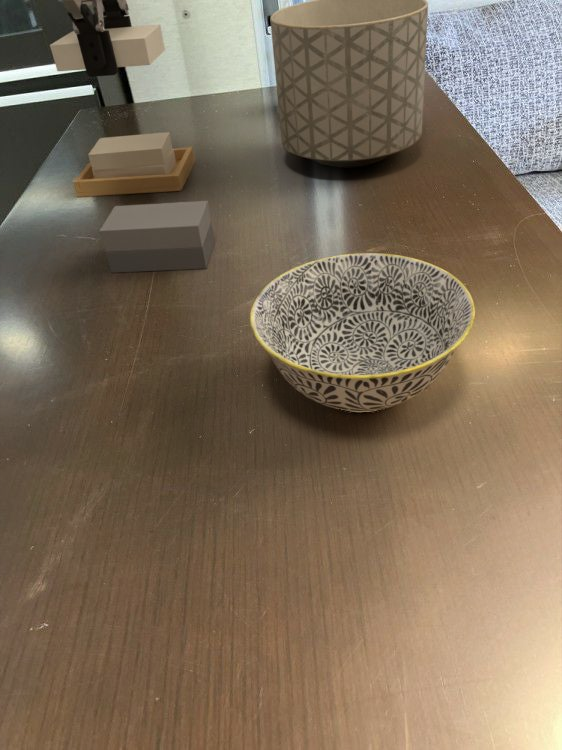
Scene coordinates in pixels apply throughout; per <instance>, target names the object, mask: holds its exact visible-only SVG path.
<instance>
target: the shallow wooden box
mask: <svg viewBox="0 0 562 750" xmlns="http://www.w3.org/2000/svg"><path fill="white" fill-rule="evenodd" d="M172 148H173V149H174V154H175V159H176V165H175V167H174V169H173V171H172V172H171V174H162V175H146V176H130V177H115V178H99V179H94V175H93V172H92V166H91V163H90V161H88V163H87V164H86V165H85V166H84V168H83V169H82V170H81V171H80V173H79V174H78V175H77V176H76V177H75V179H73V181H72V185H73V189H74V191H75V194H76V197H77V198H81V197H99V196H115V195H129V194H131V195H133V194H146V193H147V194H148V193H164V192H165V193H167V192H180V191H182V190H183V188H184V186H185V184H186V181H187V179H188V177H189V175H190V173H191V171H192V168H193V167H194V165H195V162H196V158H195V152H194V148H193V147H192V146H189V147H172Z"/></svg>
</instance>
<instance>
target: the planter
mask: <svg viewBox="0 0 562 750" xmlns="http://www.w3.org/2000/svg"><path fill="white" fill-rule="evenodd" d="M428 13H429V2H428V1H427V0H307V1H303V2H299V3H295V4H292V5H289V6H286V7H282V8H281V9H278V10H276V11H274V12H273V13H272V14H271V15H270V18H269V19H270V30H271V31H270V32H271V41H272V52H273V53H272V54H273V62H274V63H273V65H274V75H275V87H276V95H277V96H276V97H277V107H278V118H279V119H278V120H279V129H280V138H281V139H280V140H281V141H280V142H281V144H282V146H283V148H284V149H285V150H286V151H288V152H289V153H291V154H292V155H295V156H298V157H301V158H305V159H308V160H311V161H314V162H316V163H318V164H321V165H324V166H329V167H333V168H340V169H341V168H342V169H349V168H350V169H353V168H360V167H364V166H368V165H372V164H375V163H378V162H380V161H382V160H385V159H386V158H388V157H390V156H392V155H393V154H396V153H399V152H401V151H403V150H406V149H407V148H409V147H411V146H413V145H414V144H416V143H417V142H418V141H419V140H420V139H421V137H422V135H423V134H422V133H423V119H424V118H423V117H424V116H423V115H424V94H425V78H426V77H425V75H426V56H427V55H426V53H427V36H428V33H427V32H428V15H429V14H428Z"/></svg>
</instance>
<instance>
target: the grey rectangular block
mask: <svg viewBox="0 0 562 750" xmlns="http://www.w3.org/2000/svg"><path fill="white" fill-rule="evenodd" d="M209 205H210V204H209V201H208V200H198V201H197V200H196V201H179V202H178V201H177V202H164V203H145V204H128V205H115V206H114V207H113V208H112V210H111V212H110V213H109V214H108V216H107V218H106V220H105V221H104V222H103V224H102V226H101V227H100V229H99V231H98V233H99V236H100V239H101V243H102V246H103V249H104V252H105V255H106V259H107V262H108V265H109V269H110V272H111V274H116V273H117V274H118V273H139V272H162V271H163V272H164V271H183V270H185V271H187V270H206V269H207V268H208V265H209V262H210V260H211V259H210V258H211V256H212V253H213V249H214V247H215V243H216V240H215V235H214V234H215V233H214V228H213V223H212V218H211V217H212V216H211V212H210V211H211V210H210V206H209Z"/></svg>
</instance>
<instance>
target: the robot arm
mask: <svg viewBox="0 0 562 750" xmlns="http://www.w3.org/2000/svg"><path fill="white" fill-rule="evenodd" d="M57 1H58V2H60V3H62V5H63V6H64V7H65V9H66V10H67V16H68V17H69V18H70V20H71V22H72V29H73V31H74V32H75V34H77V38H78V42H79V46H80V50H81V54H82V57H83V61H84V65H85V72H86V75H87V76H88V77H90V78H94V77H108V76H115V75H116V74H118V72H119V67H117V64H116V59H115V55H114V51H113V46H112V42H111V38H110V33H109V30H105V31H104V29H110V28H122V27H133V26H132V21H131V16H130V9H129V5H128V1H127V0H57ZM89 6H92V10H91V8H90V7H89Z"/></svg>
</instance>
